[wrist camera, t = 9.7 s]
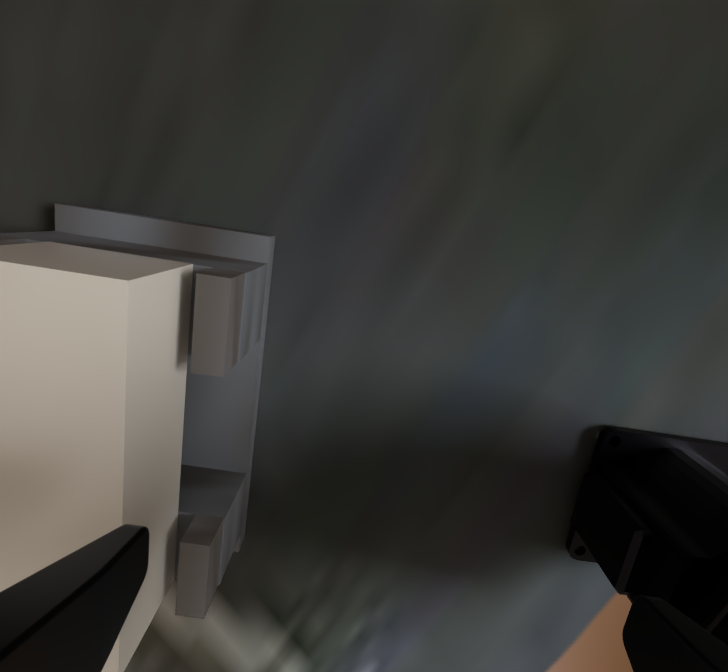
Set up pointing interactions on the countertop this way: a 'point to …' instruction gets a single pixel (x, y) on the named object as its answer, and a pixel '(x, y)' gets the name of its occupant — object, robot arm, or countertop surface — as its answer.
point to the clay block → (91, 410)
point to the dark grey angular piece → (200, 373)
